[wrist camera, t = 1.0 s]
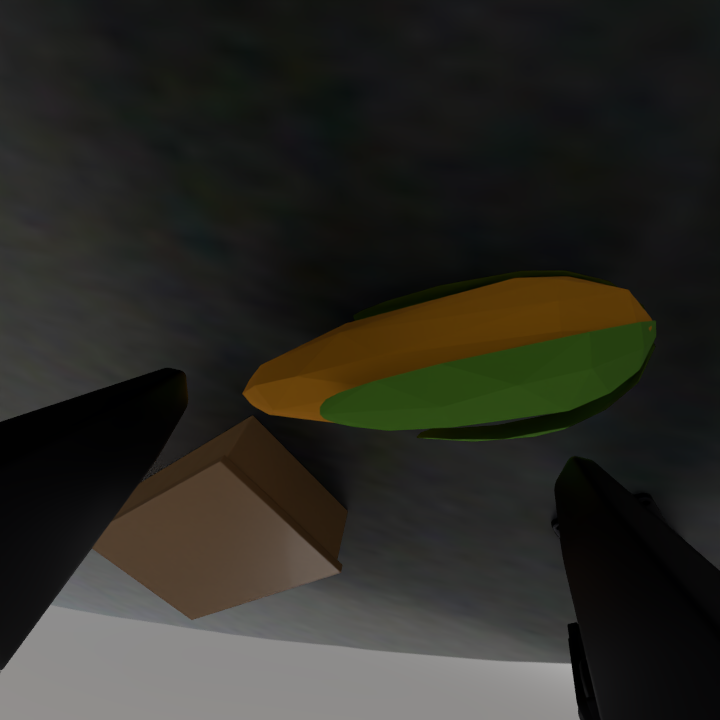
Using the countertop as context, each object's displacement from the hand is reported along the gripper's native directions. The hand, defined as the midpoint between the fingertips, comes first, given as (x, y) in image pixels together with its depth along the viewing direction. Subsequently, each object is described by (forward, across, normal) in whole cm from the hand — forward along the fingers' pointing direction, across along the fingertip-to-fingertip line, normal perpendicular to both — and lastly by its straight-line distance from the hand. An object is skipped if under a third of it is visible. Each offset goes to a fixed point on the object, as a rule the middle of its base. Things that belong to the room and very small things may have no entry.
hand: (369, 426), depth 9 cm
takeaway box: (+14, +10, +22) cm, 28 cm away
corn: (+14, -2, +4) cm, 15 cm away
